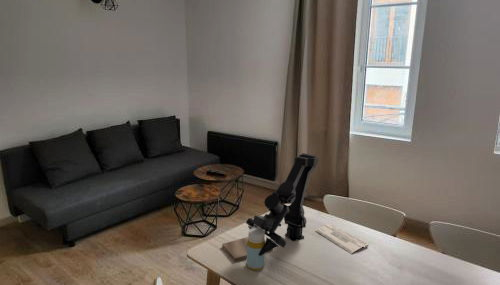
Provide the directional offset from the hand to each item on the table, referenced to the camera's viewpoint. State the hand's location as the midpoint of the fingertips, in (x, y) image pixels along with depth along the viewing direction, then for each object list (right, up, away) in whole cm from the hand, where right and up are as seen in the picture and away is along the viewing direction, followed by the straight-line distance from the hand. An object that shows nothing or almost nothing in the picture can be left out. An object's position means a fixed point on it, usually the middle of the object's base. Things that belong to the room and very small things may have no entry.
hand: (253, 251), depth 133 cm
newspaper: (+40, -3, +25) cm, 48 cm away
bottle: (+1, -7, +3) cm, 7 cm away
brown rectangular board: (-2, -3, +14) cm, 15 cm away
